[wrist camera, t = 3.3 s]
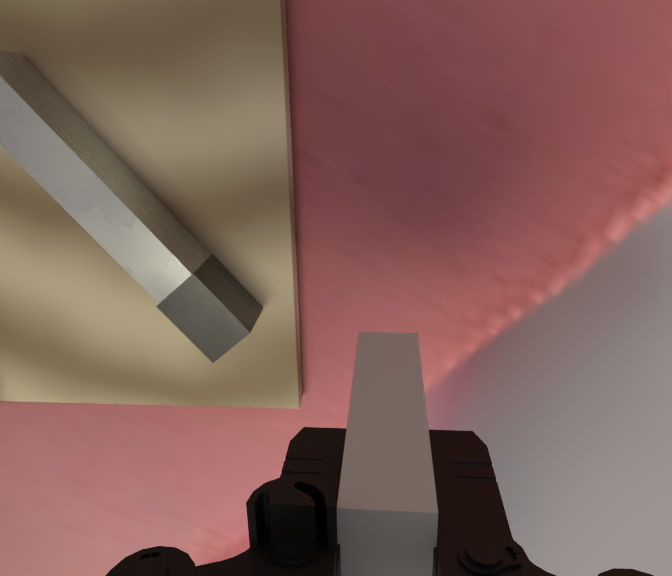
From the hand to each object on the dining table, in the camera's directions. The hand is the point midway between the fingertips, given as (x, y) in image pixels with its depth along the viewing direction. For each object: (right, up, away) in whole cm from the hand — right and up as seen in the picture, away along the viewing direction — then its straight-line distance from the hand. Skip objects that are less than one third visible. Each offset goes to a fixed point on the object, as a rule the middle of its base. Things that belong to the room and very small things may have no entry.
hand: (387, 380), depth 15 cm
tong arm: (-12, +7, +7) cm, 15 cm away
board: (-11, +6, +9) cm, 16 cm away
